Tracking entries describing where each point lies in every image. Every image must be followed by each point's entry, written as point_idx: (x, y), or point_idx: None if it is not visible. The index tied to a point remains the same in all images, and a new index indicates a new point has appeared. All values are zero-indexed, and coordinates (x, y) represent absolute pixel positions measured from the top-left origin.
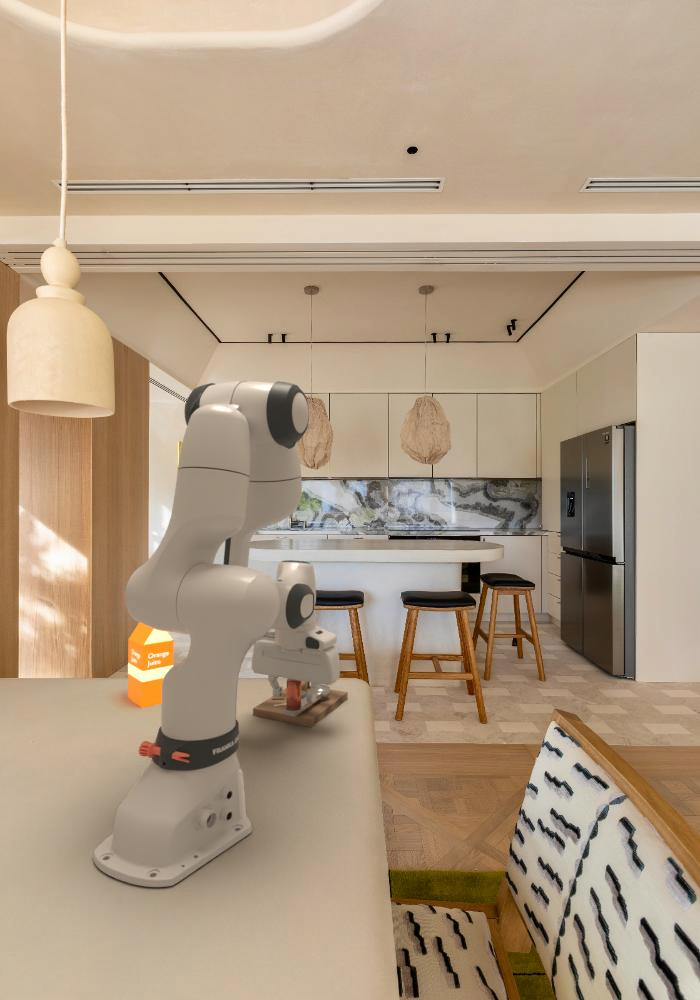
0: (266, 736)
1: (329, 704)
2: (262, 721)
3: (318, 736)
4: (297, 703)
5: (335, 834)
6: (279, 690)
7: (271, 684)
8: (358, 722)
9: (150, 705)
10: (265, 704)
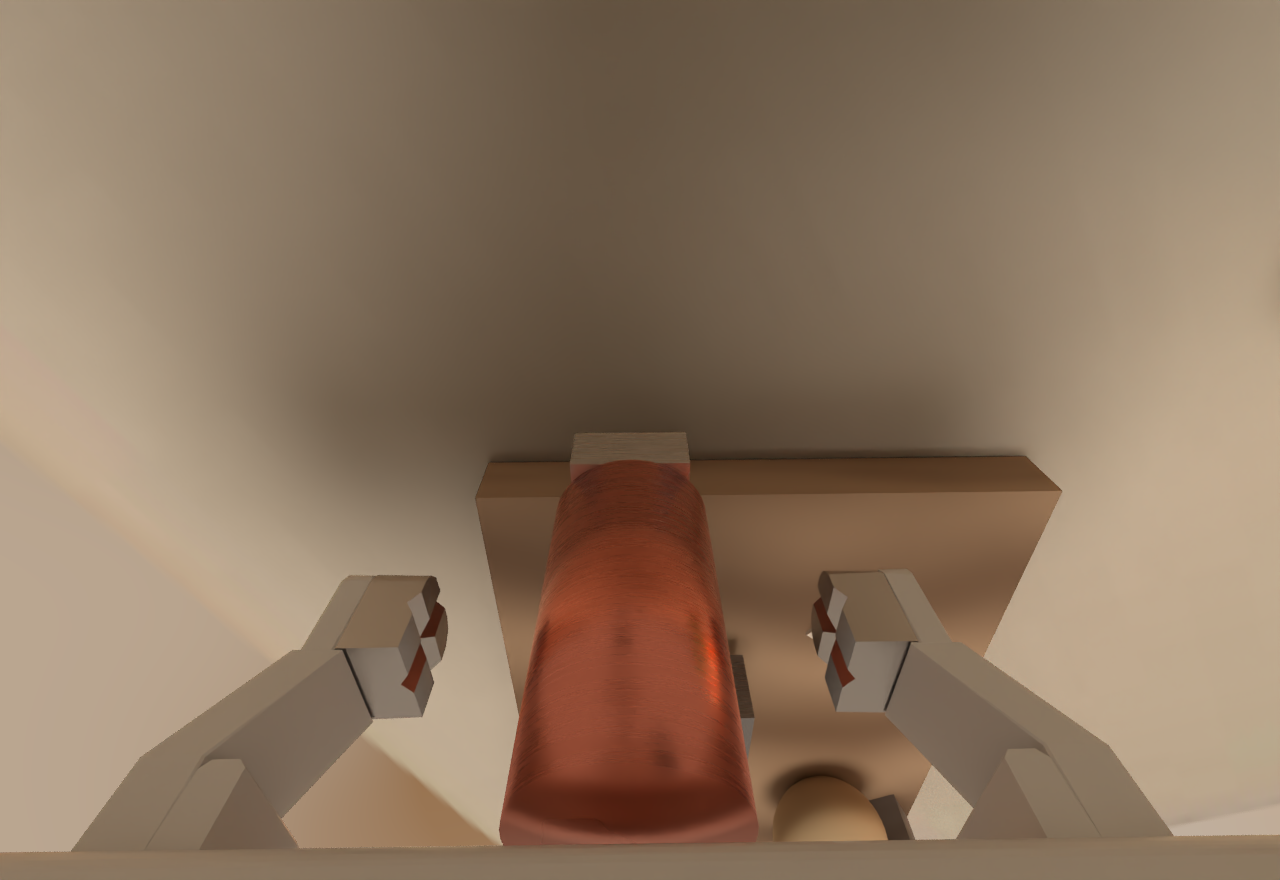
0: (741, 126)
1: None
2: (908, 396)
3: (332, 342)
4: (556, 538)
5: None
6: (842, 638)
7: (1002, 684)
8: (282, 627)
9: None
10: (974, 582)
